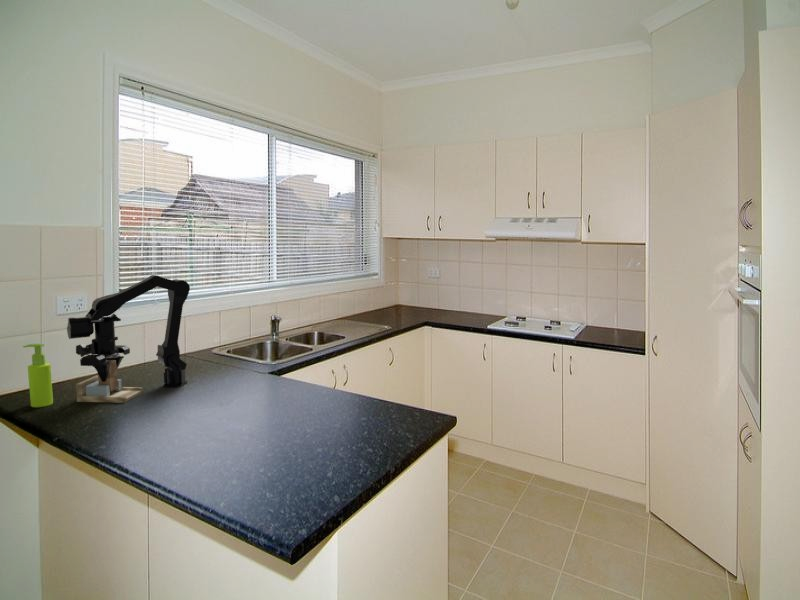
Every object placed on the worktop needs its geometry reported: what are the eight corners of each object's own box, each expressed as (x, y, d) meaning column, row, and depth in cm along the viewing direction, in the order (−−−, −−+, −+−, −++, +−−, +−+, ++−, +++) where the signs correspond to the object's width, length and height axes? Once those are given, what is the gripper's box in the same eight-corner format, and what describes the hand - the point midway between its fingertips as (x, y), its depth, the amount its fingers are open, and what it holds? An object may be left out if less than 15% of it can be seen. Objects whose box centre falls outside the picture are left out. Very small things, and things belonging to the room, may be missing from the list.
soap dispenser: (35, 401, 160) (30, 342, 157) (57, 401, 160) (52, 342, 158) (23, 407, 154) (18, 346, 151) (45, 407, 154) (41, 346, 152)
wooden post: (106, 387, 167) (104, 359, 166) (117, 388, 167) (116, 360, 166) (99, 391, 163) (97, 362, 162) (110, 391, 163) (109, 362, 162)
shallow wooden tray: (142, 392, 171) (141, 375, 170) (124, 402, 160) (123, 385, 159) (97, 391, 171) (96, 375, 170) (77, 401, 160) (75, 384, 159)
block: (121, 389, 170) (121, 379, 169) (106, 397, 161) (106, 386, 161) (102, 389, 170) (101, 378, 169) (86, 396, 161) (85, 386, 161)
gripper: (98, 329, 172) (101, 372, 174) (62, 340, 154) (65, 387, 155) (129, 330, 172) (131, 372, 174) (96, 340, 154) (99, 388, 155)
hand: (107, 379), depth 165 cm, fingers closed on wooden post, 4 cm apart
